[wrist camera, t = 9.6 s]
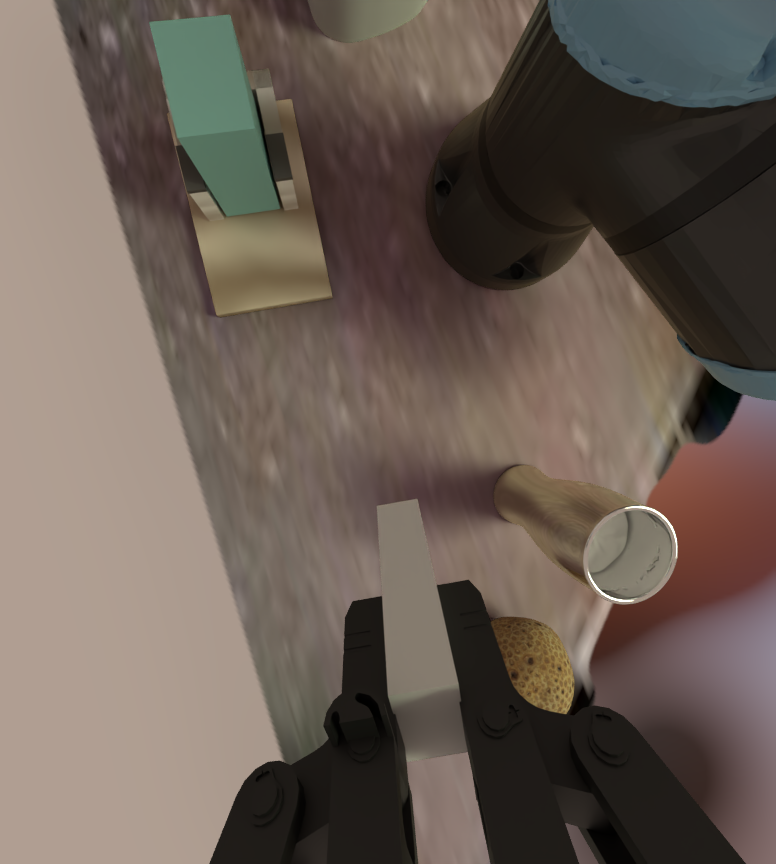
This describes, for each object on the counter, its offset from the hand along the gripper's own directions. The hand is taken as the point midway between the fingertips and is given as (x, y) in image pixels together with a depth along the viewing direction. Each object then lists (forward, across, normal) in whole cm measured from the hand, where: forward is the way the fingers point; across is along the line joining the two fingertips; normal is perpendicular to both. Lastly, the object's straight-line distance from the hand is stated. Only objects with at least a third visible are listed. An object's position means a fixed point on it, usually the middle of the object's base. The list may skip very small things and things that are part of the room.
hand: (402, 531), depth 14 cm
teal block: (+27, -8, +16) cm, 33 cm away
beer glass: (+21, +12, -15) cm, 28 cm away
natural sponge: (+15, +7, -29) cm, 33 cm away
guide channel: (+28, -8, +14) cm, 32 cm away
